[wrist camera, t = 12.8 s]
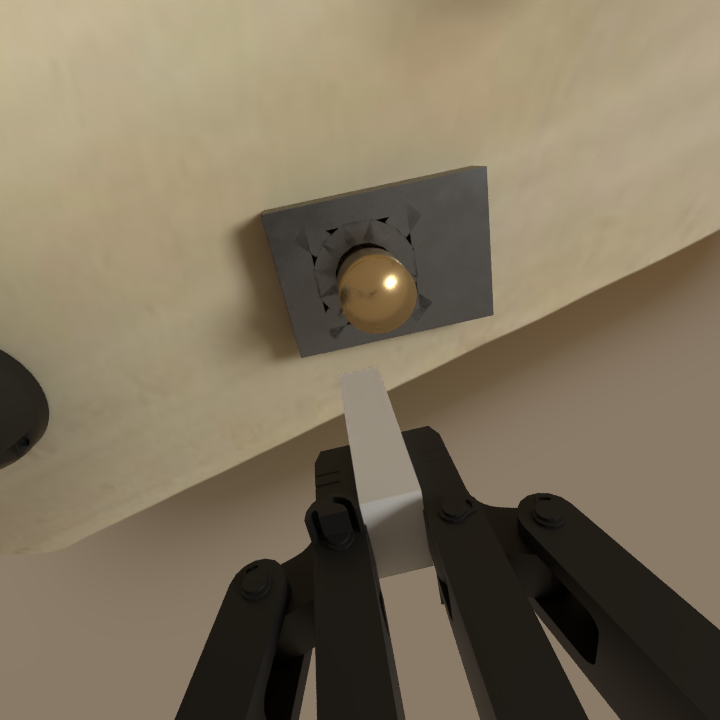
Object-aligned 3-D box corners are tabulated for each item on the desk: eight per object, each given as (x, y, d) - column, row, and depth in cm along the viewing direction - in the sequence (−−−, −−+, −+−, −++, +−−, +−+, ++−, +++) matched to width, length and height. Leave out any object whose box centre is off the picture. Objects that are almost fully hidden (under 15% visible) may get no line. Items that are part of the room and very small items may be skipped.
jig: (301, 344, 45) (301, 357, 42) (264, 210, 39) (261, 214, 36) (480, 304, 46) (493, 315, 43) (472, 165, 39) (486, 166, 36)
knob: (339, 299, 44) (349, 341, 34) (326, 242, 41) (333, 268, 31) (395, 287, 44) (421, 325, 34) (386, 229, 41) (411, 251, 31)
